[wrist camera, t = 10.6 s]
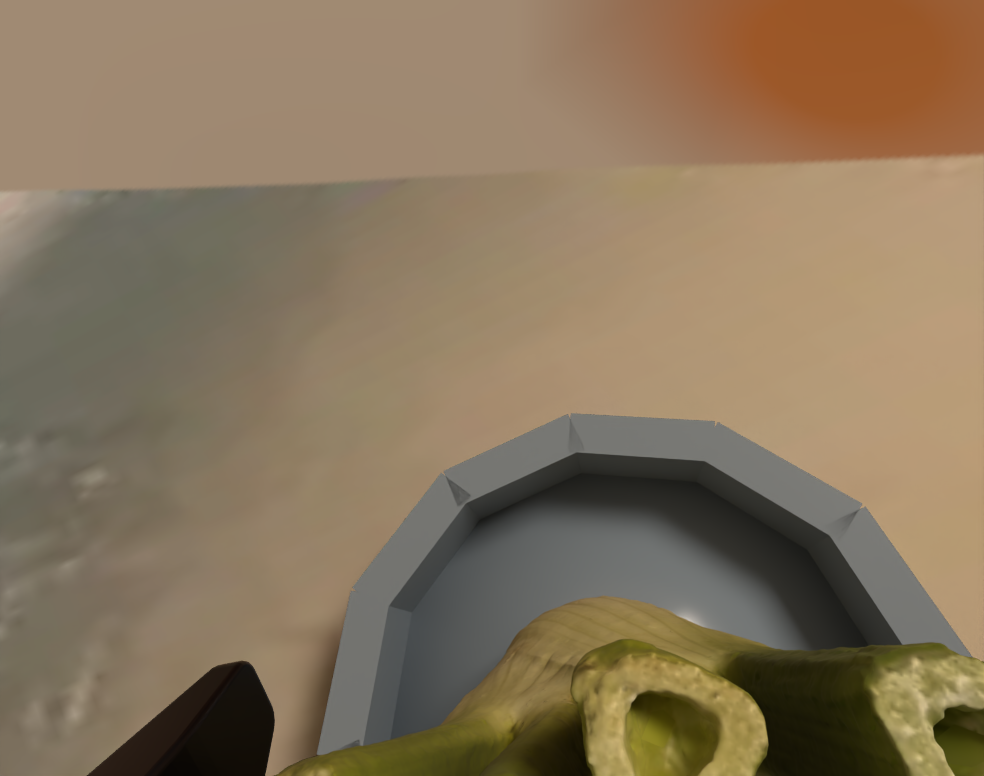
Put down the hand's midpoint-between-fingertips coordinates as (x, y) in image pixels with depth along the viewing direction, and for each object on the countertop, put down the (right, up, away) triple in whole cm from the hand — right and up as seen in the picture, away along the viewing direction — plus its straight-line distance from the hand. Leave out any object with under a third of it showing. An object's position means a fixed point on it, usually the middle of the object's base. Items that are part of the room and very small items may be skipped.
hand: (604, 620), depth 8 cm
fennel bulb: (+2, -5, +7) cm, 9 cm away
